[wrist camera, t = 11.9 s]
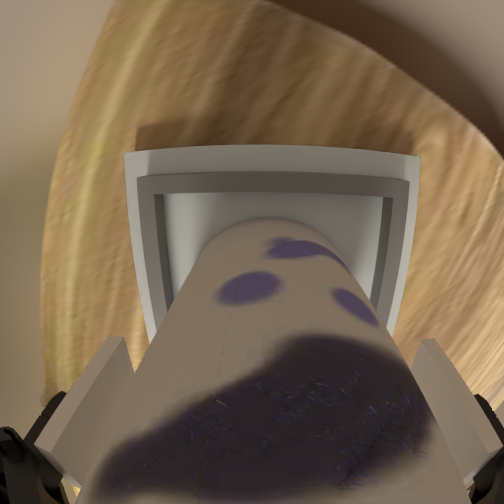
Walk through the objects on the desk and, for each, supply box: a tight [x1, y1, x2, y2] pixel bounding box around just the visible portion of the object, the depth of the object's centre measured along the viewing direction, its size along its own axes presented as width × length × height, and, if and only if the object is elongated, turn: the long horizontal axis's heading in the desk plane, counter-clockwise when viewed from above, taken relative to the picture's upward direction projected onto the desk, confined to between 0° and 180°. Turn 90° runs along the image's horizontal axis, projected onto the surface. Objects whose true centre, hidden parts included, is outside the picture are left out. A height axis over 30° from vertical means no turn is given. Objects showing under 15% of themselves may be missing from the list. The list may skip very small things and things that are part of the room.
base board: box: [124, 145, 421, 343], centre depth 18 cm, size 18×18×3 cm
